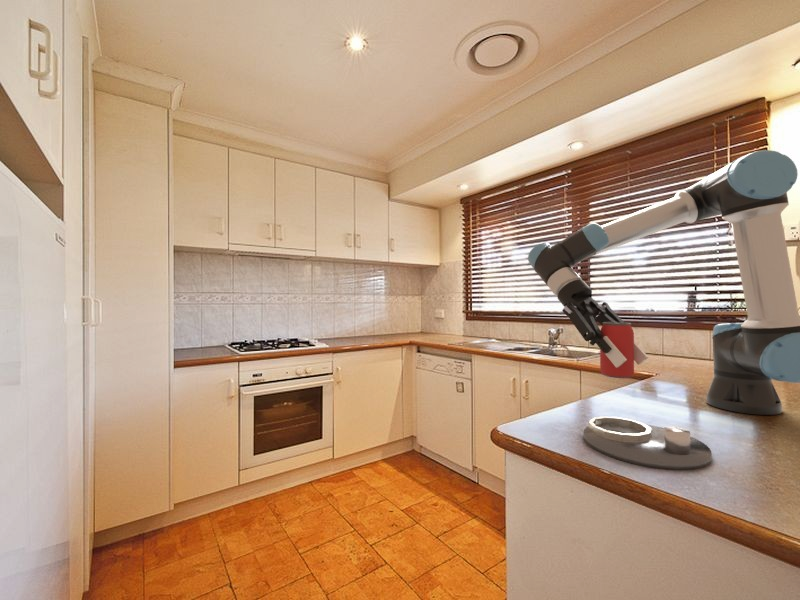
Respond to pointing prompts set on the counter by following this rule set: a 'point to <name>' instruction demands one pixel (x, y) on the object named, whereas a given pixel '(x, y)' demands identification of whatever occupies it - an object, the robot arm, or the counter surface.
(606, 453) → the carrier plate
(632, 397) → the counter surface
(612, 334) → the beer can
